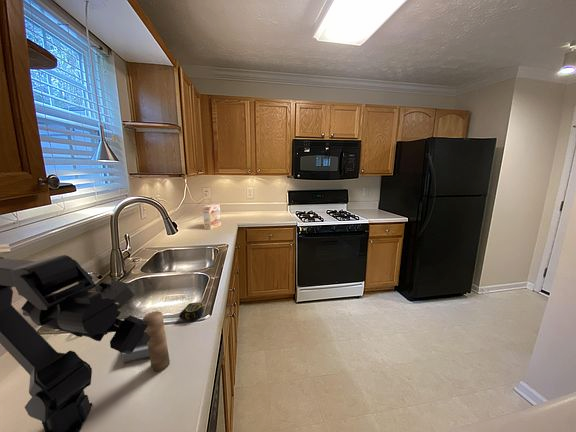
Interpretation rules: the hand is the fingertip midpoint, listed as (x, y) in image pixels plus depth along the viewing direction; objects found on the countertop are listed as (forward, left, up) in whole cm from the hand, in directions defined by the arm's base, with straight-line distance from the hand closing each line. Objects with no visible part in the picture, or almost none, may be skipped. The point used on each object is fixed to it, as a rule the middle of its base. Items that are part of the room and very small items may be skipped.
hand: (135, 333), depth 58 cm
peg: (+3, +5, -14) cm, 15 cm away
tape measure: (+9, +25, -14) cm, 31 cm away
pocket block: (-3, +13, -14) cm, 19 cm away
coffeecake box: (+18, +156, -14) cm, 157 cm away
